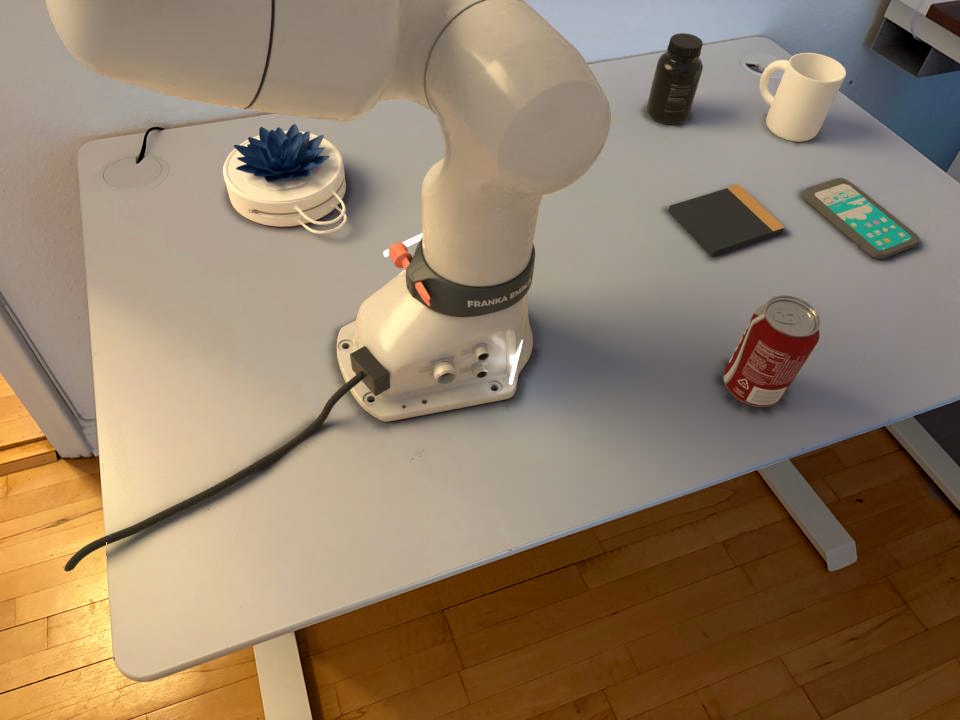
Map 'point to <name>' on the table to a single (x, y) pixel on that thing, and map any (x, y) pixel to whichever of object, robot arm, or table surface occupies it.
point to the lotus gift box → (286, 179)
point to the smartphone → (861, 218)
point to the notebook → (725, 220)
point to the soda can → (772, 350)
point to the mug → (801, 94)
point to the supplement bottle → (676, 80)
